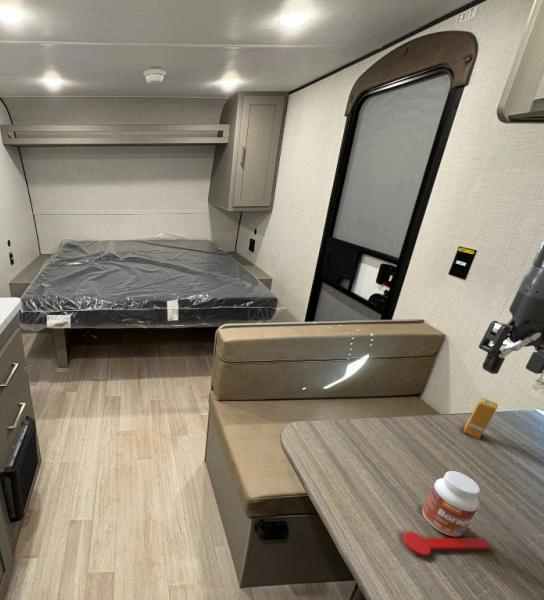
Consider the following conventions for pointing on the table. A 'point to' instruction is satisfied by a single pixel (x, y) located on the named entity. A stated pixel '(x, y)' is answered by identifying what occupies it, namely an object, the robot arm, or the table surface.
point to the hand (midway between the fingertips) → (511, 371)
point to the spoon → (442, 544)
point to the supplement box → (480, 417)
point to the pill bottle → (452, 503)
